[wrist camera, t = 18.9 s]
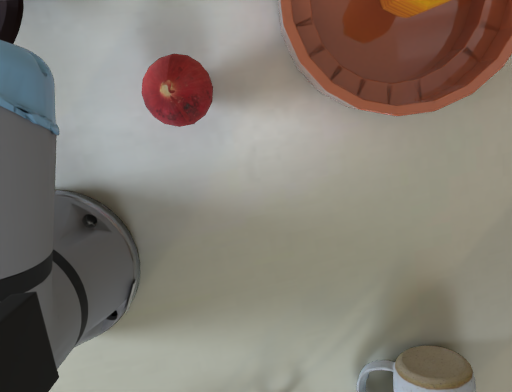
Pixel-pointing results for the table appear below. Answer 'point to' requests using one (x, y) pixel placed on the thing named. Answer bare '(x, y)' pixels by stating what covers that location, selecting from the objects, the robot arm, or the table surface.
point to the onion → (177, 90)
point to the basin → (397, 51)
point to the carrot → (409, 6)
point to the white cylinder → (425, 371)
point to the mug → (10, 19)
